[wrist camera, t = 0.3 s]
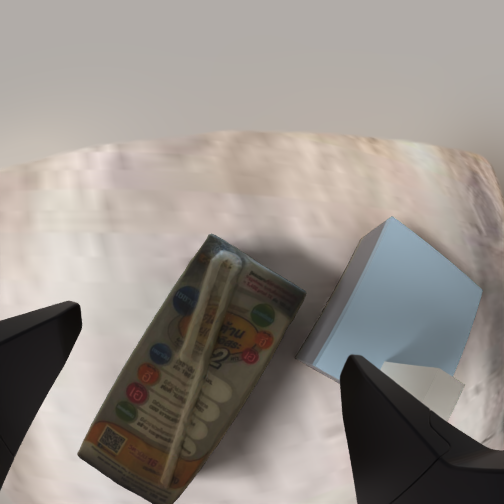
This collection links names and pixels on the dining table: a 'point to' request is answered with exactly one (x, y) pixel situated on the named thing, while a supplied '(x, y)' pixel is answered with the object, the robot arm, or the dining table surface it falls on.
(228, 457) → the dining table surface
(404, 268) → the blue plate with post
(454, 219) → the dining table surface
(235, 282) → the beverage carton
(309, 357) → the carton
